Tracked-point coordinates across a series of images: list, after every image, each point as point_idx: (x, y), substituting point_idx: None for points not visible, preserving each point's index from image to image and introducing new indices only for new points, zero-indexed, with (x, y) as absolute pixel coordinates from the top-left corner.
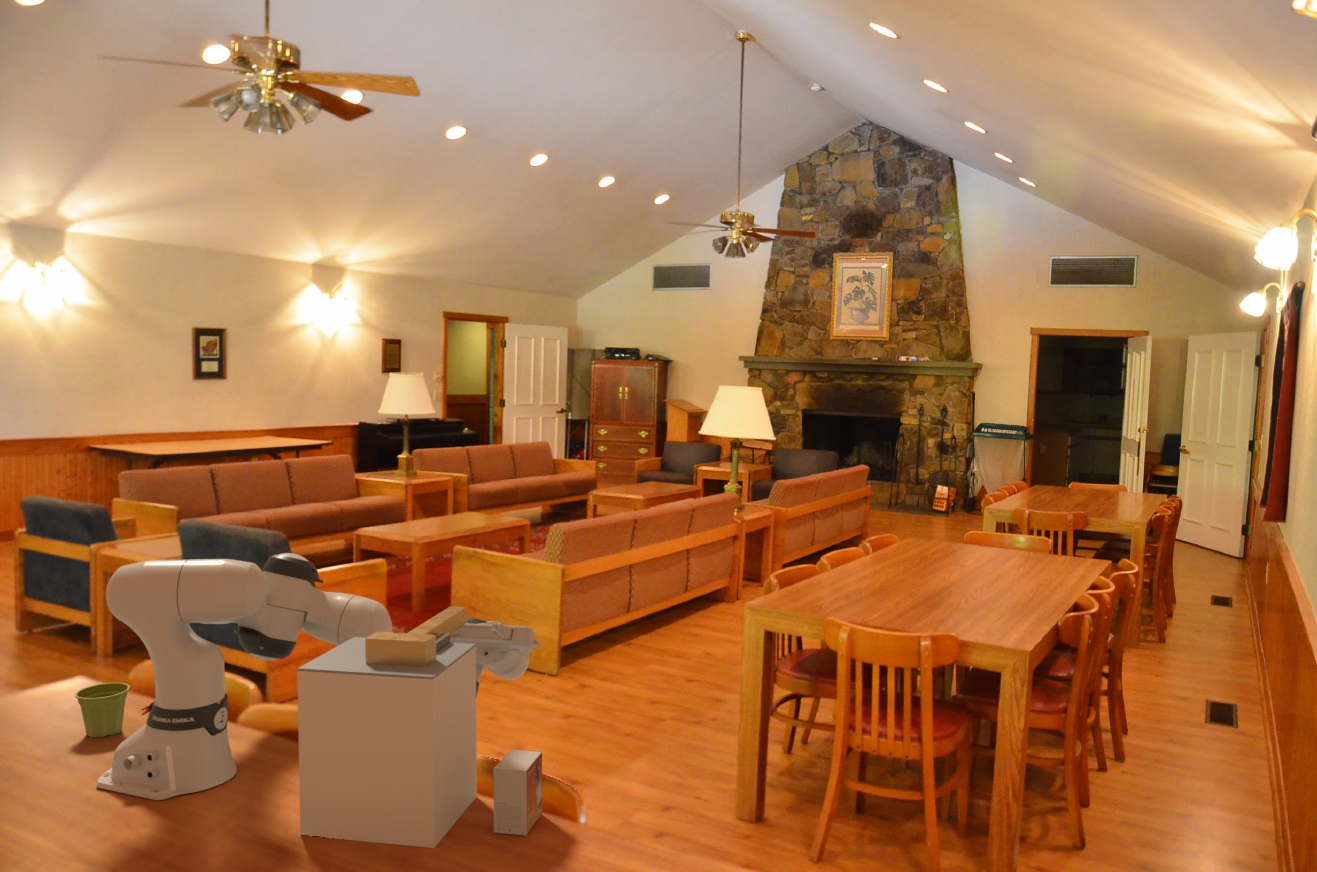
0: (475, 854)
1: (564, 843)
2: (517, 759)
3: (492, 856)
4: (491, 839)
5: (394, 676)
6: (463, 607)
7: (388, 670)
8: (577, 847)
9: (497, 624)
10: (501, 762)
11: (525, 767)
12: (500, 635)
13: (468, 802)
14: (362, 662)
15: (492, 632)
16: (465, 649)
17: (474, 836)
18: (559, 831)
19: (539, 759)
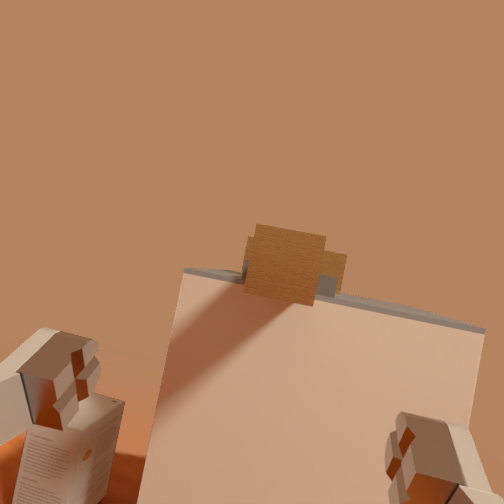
0: (136, 465)
1: (16, 462)
2: (83, 407)
3: (116, 459)
4: (111, 485)
5: None
6: (264, 226)
7: None
8: (5, 454)
9: (63, 333)
10: (110, 408)
11: None
12: (6, 438)
13: None
14: (343, 294)
15: (87, 393)
16: (202, 269)
17: (133, 494)
18: (6, 484)
19: None
